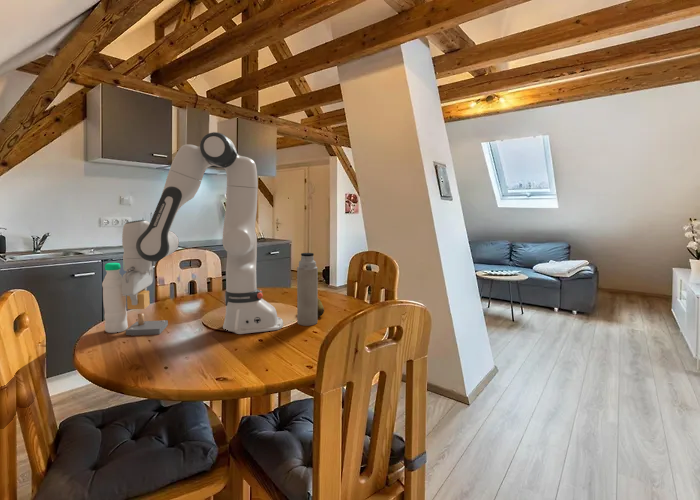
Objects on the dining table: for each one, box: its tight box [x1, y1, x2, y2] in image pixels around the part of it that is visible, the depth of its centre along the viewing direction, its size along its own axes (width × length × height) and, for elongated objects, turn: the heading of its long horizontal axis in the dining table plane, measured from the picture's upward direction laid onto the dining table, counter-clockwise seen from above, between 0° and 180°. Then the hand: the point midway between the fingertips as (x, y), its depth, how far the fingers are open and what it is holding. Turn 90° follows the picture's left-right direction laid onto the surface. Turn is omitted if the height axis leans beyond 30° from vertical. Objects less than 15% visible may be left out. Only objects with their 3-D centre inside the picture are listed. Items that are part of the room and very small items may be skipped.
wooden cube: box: [126, 290, 151, 310], centre depth 137 cm, size 6×6×6 cm
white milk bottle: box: [101, 262, 129, 334], centre depth 136 cm, size 7×7×25 cm
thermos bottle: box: [296, 252, 319, 326], centre depth 148 cm, size 8×8×28 cm
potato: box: [317, 298, 325, 318], centre depth 160 cm, size 8×13×8 cm, turn 13°
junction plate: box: [125, 312, 169, 336], centre depth 137 cm, size 11×10×6 cm
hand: (138, 302), depth 137 cm, fingers closed on wooden cube, 6 cm apart
